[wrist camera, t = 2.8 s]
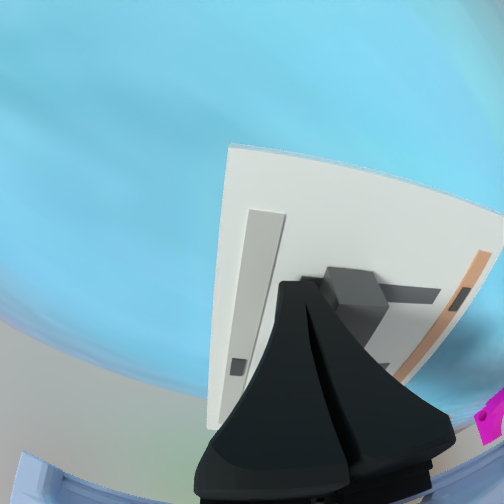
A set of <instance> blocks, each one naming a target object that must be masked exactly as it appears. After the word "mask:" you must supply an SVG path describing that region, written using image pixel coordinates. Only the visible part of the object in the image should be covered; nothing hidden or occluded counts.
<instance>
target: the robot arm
mask: <svg viewBox="0 0 504 504" xmlns="http://www.w3.org/2000/svg"><path fill="white" fill-rule="evenodd" d="M455 442H456V437H455V433H454V430H453V427H452V424H451V421H450V419H449V416H448V415H447V414H445V413H443V412H442V411H440V410H439V409H437V408H435V407H434V406H432V405H430V404H429V403H427V402H425V401H424V400H422V399H421V398H420V397H418V396H417V395H415V394H414V393H413V392H411V391H410V390H409V389H407V388H406V387H405V386H404V385H402V384H401V383H400V382H399V381H398V380H396V379H395V378H394V377H393V376H392V375H391V374H389V373H388V372H387V371H386V370H385V369H384V368H383V367H382V366H381V365H380V364H378V363H377V362H376V361H375V359H374V358H373V357H372V356H371V355H370V354H369V353H368V352H367V351H366V350H365V349H364V348H363V347H362V346H361V344H360V343H359V342H358V341H357V340H356V338H355V337H354V336H353V335H352V334H351V332H350V331H349V330H348V329H347V327H346V326H345V325H344V323H343V322H342V321H341V319H340V318H339V317H338V315H337V314H336V313H335V311H334V310H333V309H332V307H331V306H330V304H329V303H328V301H327V300H326V298H325V297H324V295H323V294H322V292H321V291H320V289H319V288H318V286H317V285H316V283H315V282H314V281H281V282H280V283H279V286H278V294H277V302H276V310H275V322H274V325H273V328H272V331H271V334H270V337H269V340H268V343H267V345H266V348H265V350H264V353H263V355H262V358H261V360H260V362H259V364H258V366H257V368H256V370H255V372H254V374H253V376H252V378H251V380H250V382H249V384H248V386H247V387H246V389H245V391H244V393H243V394H242V396H241V397H240V399H239V401H238V402H237V404H236V405H235V407H234V409H233V410H232V412H231V413H230V415H229V416H228V418H227V419H226V420H225V422H224V423H223V424H222V426H221V427H220V428H219V430H218V431H217V432H216V434H215V435H214V436H213V438H212V439H211V440H210V442H209V444H208V447H207V448H206V451H205V452H204V454H203V456H202V458H201V460H200V462H199V464H198V466H197V469H196V472H195V477H194V493H195V494H196V495H198V496H199V497H200V504H403V503H406V502H409V501H412V500H415V499H417V498H420V497H422V496H424V497H423V499H422V501H421V502H420V503H418V504H504V441H502V442H500V443H499V444H497V445H496V446H494V447H492V448H491V449H489V450H487V451H486V452H484V453H482V454H480V455H478V456H476V457H474V458H473V459H470V460H468V461H466V462H464V463H462V464H460V465H458V466H456V467H454V468H452V469H450V470H447V471H445V472H443V473H440V474H438V475H436V476H433V477H431V478H430V474H429V470H430V469H432V467H433V465H432V460H431V459H432V458H434V457H436V456H437V455H439V454H441V453H442V452H444V451H446V450H447V449H448V448H450V447H451V446H452V445H454V444H455ZM10 504H170V503H165V502H160V501H155V500H150V499H145V498H141V497H137V496H133V495H129V494H125V493H122V492H118V491H115V490H112V489H109V488H105V487H102V486H99V485H96V484H94V483H90V482H88V481H85V480H82V479H80V478H77V477H75V476H73V475H70V474H68V473H65V472H63V471H62V470H61V469H59V468H57V467H55V466H53V465H51V464H49V463H47V462H45V461H43V460H41V459H39V458H37V457H35V456H33V455H31V454H29V453H27V452H26V451H22V454H21V457H20V461H19V465H18V469H17V472H16V477H15V481H14V485H13V490H12V494H11V500H10Z"/></svg>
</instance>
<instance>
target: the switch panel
mask: <svg viewBox="0 0 504 504" xmlns="http://www.w3.org/2000/svg"><path fill="white" fill-rule="evenodd" d="M503 246H504V214H503V213H501V212H499V211H496V210H494V209H492V208H489V207H487V206H484V205H482V204H479V203H477V202H474V201H472V200H469V199H466V198H464V197H461V196H458V195H456V194H453V193H450V192H447V191H444V190H441V189H439V188H436V187H433V186H429V185H426V184H423V183H420V182H417V181H414V180H410V179H407V178H404V177H400V176H397V175H393V174H390V173H386V172H382V171H379V170H375V169H371V168H367V167H363V166H359V165H355V164H350V163H346V162H342V161H337V160H333V159H328V158H323V157H318V156H313V155H308V154H303V153H297V152H291V151H286V150H280V149H273V148H267V147H260V146H253V145H245V144H237V143H230V145H229V148H228V156H227V164H226V173H225V182H224V191H223V200H222V210H221V219H220V230H219V240H218V251H217V262H216V274H215V286H214V299H213V313H212V328H211V344H210V361H209V381H208V404H207V405H208V406H207V429H212V430H219V428H220V427H221V426H222V424H223V423H224V422H225V420H226V419H227V418H228V416H229V415H230V413H231V412H232V410H233V409H234V407H235V405H236V404H237V402H238V401H239V399H240V397H241V396H242V394H243V393H244V391H245V389H246V387H247V386H248V384H249V382H250V380H251V378H252V376H253V374H254V372H255V370H256V368H257V366H258V364H259V362H260V360H261V358H262V355H263V353H264V350H265V348H266V345H267V343H268V340H269V337H270V334H271V331H272V328H273V325H274V322H275V310H276V302H277V294H278V286H279V283H280V282H281V281H314V282H315V283H316V285H317V286H318V288H320V285H321V282H322V280H323V277H324V274H325V271H326V269H327V267H334V268H343V269H352V270H361V271H369V272H373V274H374V276H375V278H376V280H377V282H378V284H379V286H380V288H381V290H382V292H383V294H384V296H385V298H386V300H387V302H388V304H389V306H390V307H389V309H388V310H387V312H386V314H385V315H384V317H383V319H382V320H381V322H380V324H379V325H378V327H377V329H376V330H375V332H374V333H373V335H372V337H371V338H370V340H369V341H368V343H367V344H366V346H365V347H364V349H365V350H366V351H367V352H368V353H369V354H370V355H371V356H372V357H373V358H374V359H375V361H376V362H377V363H378V364H380V365H381V366H382V367H383V368H384V369H385V370H386V371H387V372H388V373H389V374H391V375H392V376H393V377H394V378H395V379H396V380H398V381H399V382H400V383H401V384H402V385H404V386H405V385H406V384H407V383H408V382H409V381H410V380H411V379H412V377H413V376H414V375H415V374H416V373H417V372H418V371H419V370H420V369H421V367H422V366H423V365H424V364H425V363H426V362H427V361H428V359H429V358H430V357H431V356H432V355H433V353H434V352H435V351H436V350H437V349H438V347H439V346H440V345H441V344H442V342H443V341H444V340H445V338H446V337H447V336H448V335H449V333H450V332H451V331H452V329H453V328H454V327H455V325H456V324H457V322H458V321H459V320H460V318H461V317H462V315H463V314H464V312H465V311H466V310H467V308H468V307H469V305H470V304H471V302H472V301H473V299H474V297H475V296H476V294H477V293H478V291H479V290H480V288H481V286H482V285H483V283H484V281H485V280H486V278H487V276H488V274H489V273H490V271H491V269H492V267H493V266H494V264H495V262H496V260H497V258H498V256H499V254H500V252H501V250H502V248H503Z"/></svg>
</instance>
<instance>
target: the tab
mask: <svg viewBox="0 0 504 504" xmlns="http://www.w3.org/2000/svg"><path fill="white" fill-rule="evenodd" d="M319 289H320V291H321V292H322V294H323V295H324V297H325V298H326V300H327V301H328V303H329V304H330V306H331V307H332V309H333V310H334V311H335V313H336V314H337V315H338V317H339V318H340V319H341V321H342V322H343V323H344V325H345V326H346V327H347V329H348V330H349V331H350V332H351V334H352V335H353V336H354V337H355V338H356V340H357V341H358V342H359V343H360V344H361V346H362V347H363V348H364V347H365V346H366V344H367V343H368V341H369V340H370V338H371V337H372V335H373V333H374V332H375V330H376V329H377V327H378V325H379V324H380V322H381V320H382V319H383V317H384V315H385V314H386V312H387V310H388V309H389V307H390V306H389V304H388V302H387V300H386V298H385V296H384V294H383V292H382V290H381V288H380V286H379V284H378V282H377V280H376V278H375V276H374V274H373V272H369V271H361V270H352V269H343V268H334V267H327V269H326V271H325V274H324V277H323V280H322V282H321V285H320V288H319Z"/></svg>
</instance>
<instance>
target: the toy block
mask: <svg viewBox="0 0 504 504" xmlns="http://www.w3.org/2000/svg"><path fill="white" fill-rule="evenodd" d="M486 404H487V406H486V407H484V408H483V409H482V410H481V411H479V412H478V413H477V414H476V415H474V418H475V421H476V424H477V427H478V430H479V433H480V436H481V439H482V442H483V445H486V444H488V443H490V442H492V441H494V440H495V439H497V438H498V437H500V436H501V435H502V434H501V423H502V418H503V415H504V388H503V389H502V390H501V391H499V392H498V393H497V394H496V395H495V396H494V397H492V398H491V399H490V400H489V401H488V402H487V403H486Z"/></svg>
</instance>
